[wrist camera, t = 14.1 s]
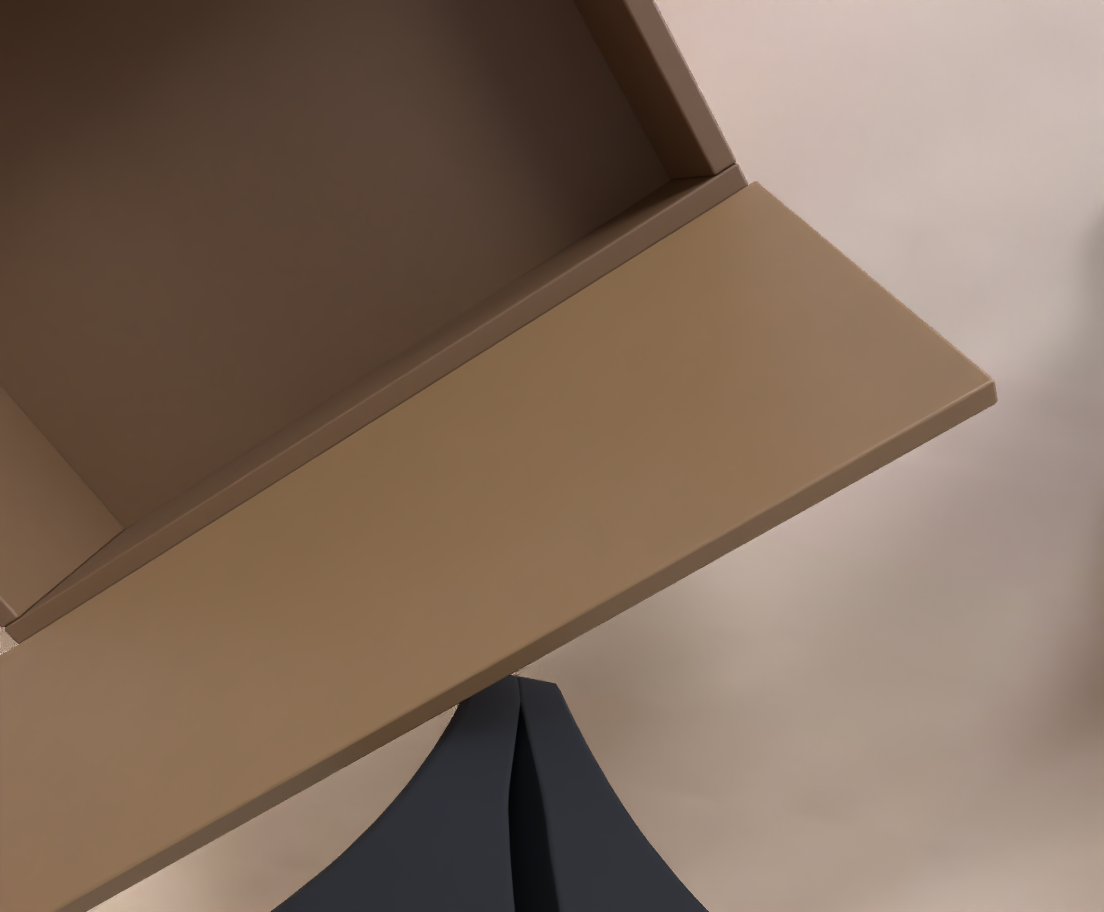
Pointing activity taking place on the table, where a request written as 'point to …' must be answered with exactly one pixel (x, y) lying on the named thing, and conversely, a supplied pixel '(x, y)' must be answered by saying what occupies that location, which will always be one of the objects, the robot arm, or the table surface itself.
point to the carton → (292, 236)
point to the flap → (460, 542)
